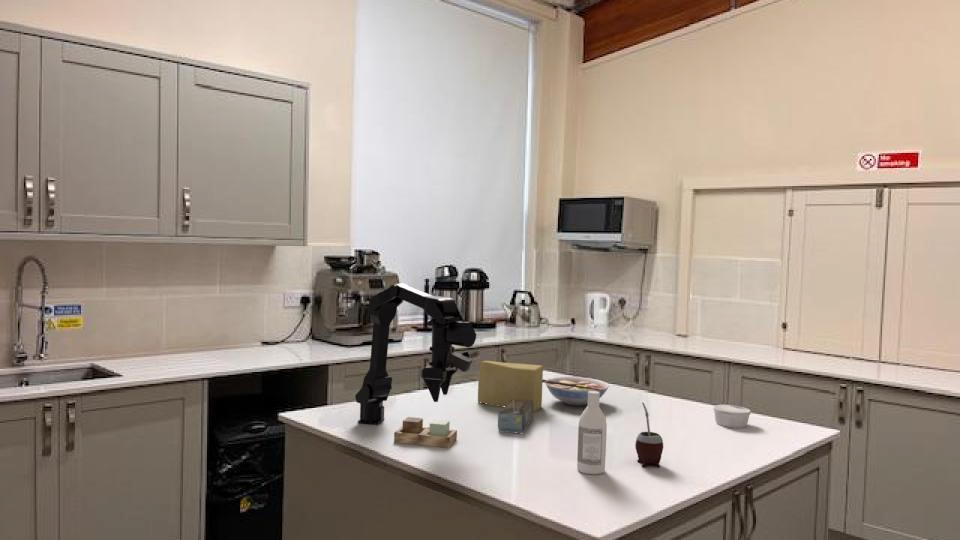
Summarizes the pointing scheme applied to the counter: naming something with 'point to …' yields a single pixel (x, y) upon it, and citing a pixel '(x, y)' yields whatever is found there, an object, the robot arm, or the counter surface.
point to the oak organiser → (425, 438)
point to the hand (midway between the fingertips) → (440, 398)
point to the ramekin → (731, 416)
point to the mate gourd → (649, 446)
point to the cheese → (510, 383)
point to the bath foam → (592, 437)
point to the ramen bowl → (574, 389)
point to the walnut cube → (413, 425)
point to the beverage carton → (515, 415)
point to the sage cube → (439, 428)
